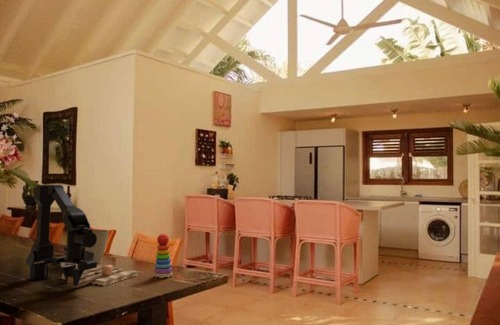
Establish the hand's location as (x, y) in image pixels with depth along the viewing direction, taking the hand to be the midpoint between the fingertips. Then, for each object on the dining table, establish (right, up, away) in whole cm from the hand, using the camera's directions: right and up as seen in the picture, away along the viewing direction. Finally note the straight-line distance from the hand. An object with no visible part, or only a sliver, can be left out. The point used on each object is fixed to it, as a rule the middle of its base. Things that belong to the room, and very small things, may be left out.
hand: (73, 285), depth 163 cm
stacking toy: (+30, -3, +24) cm, 38 cm away
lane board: (+4, -2, +20) cm, 20 cm away
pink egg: (+8, 0, +16) cm, 18 cm away
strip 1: (-2, -1, +21) cm, 21 cm away
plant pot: (-11, -3, +49) cm, 50 cm away
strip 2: (+4, -1, +9) cm, 10 cm away
